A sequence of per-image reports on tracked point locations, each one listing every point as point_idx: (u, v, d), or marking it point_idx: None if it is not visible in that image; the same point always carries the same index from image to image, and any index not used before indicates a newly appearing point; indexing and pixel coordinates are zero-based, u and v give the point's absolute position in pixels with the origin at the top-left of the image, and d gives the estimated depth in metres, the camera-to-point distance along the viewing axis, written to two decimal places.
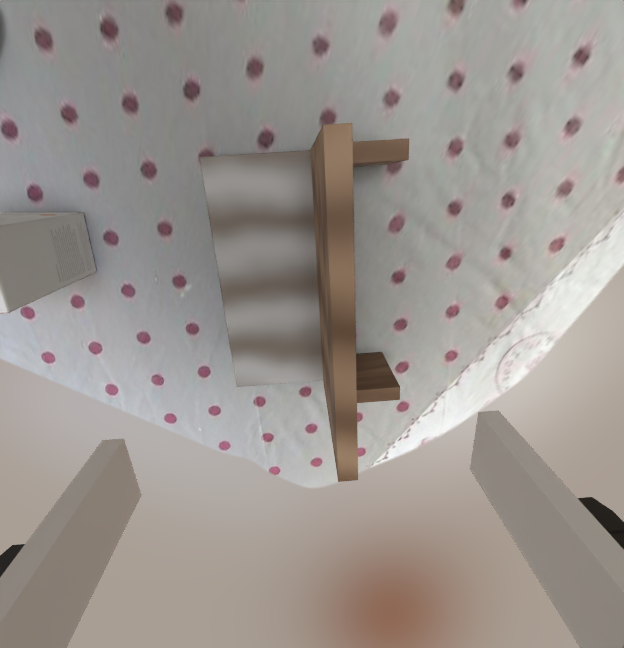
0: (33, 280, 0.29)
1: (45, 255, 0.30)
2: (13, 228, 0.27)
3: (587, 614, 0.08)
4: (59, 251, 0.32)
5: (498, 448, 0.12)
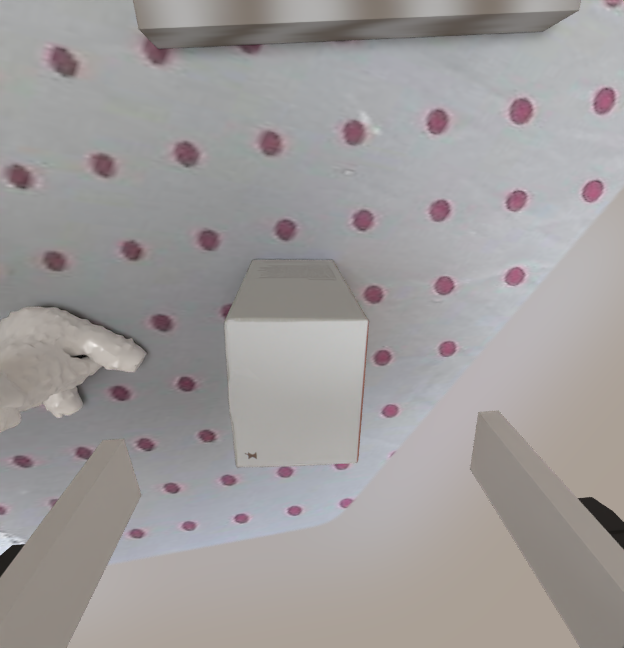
0: (324, 295, 0.18)
1: (291, 284, 0.20)
2: (240, 299, 0.17)
3: (587, 614, 0.08)
4: (291, 276, 0.22)
5: (498, 448, 0.12)
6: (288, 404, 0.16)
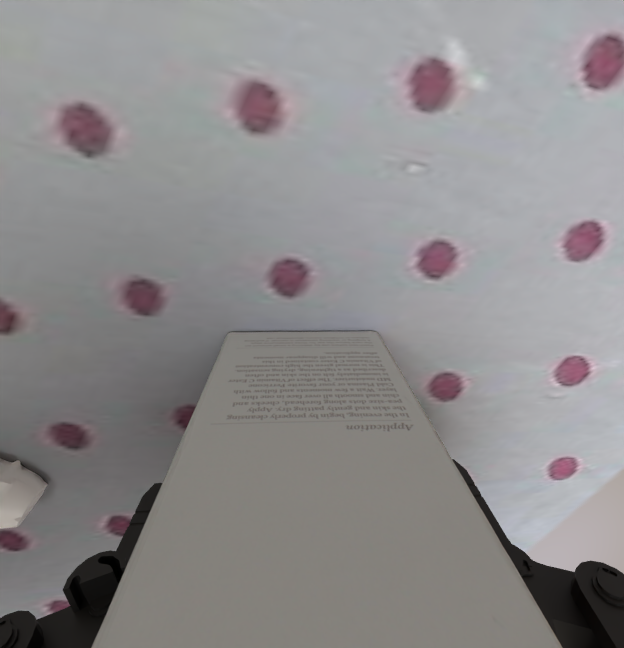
0: (414, 558, 0.06)
1: (306, 458, 0.08)
2: (130, 602, 0.05)
3: None
4: (303, 408, 0.09)
5: None
6: None
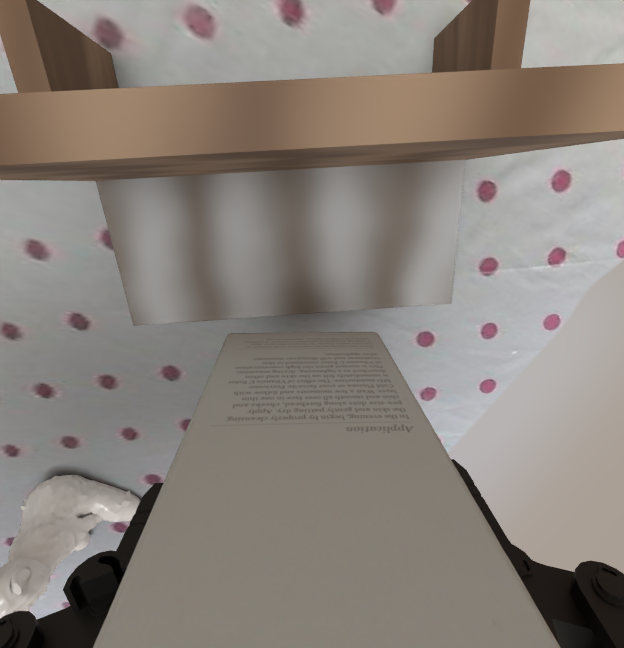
0: (414, 561, 0.06)
1: (306, 460, 0.08)
2: (130, 605, 0.05)
3: None
4: (304, 409, 0.09)
5: None
6: None
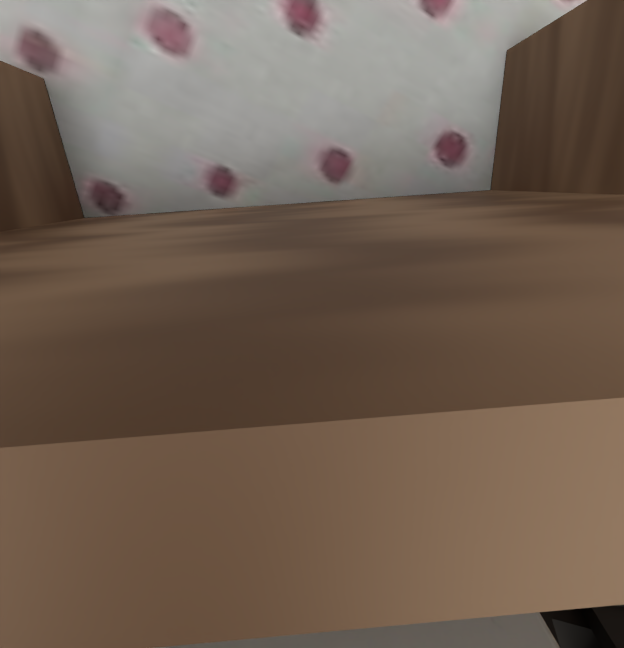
0: None
1: None
2: None
3: None
4: None
5: None
6: None
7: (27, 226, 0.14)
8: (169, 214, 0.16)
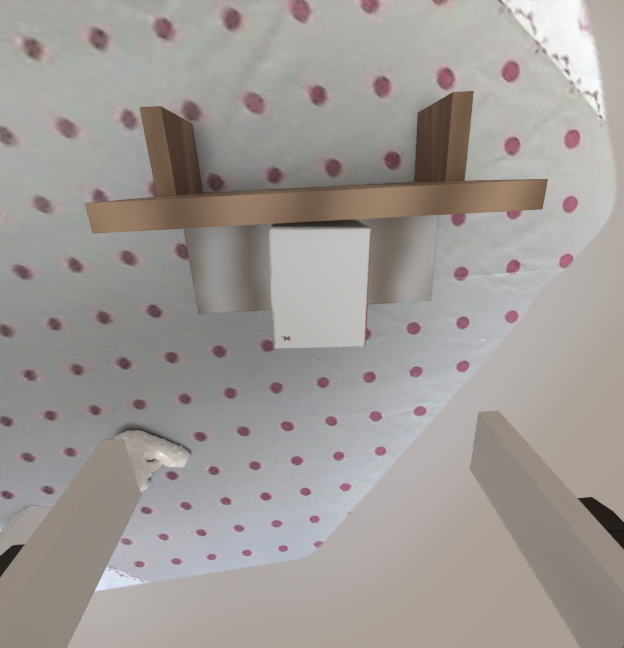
0: (338, 221, 0.24)
1: None
2: (276, 223, 0.24)
3: (587, 614, 0.08)
4: None
5: (499, 448, 0.12)
6: (314, 295, 0.22)
7: (190, 193, 0.31)
8: None
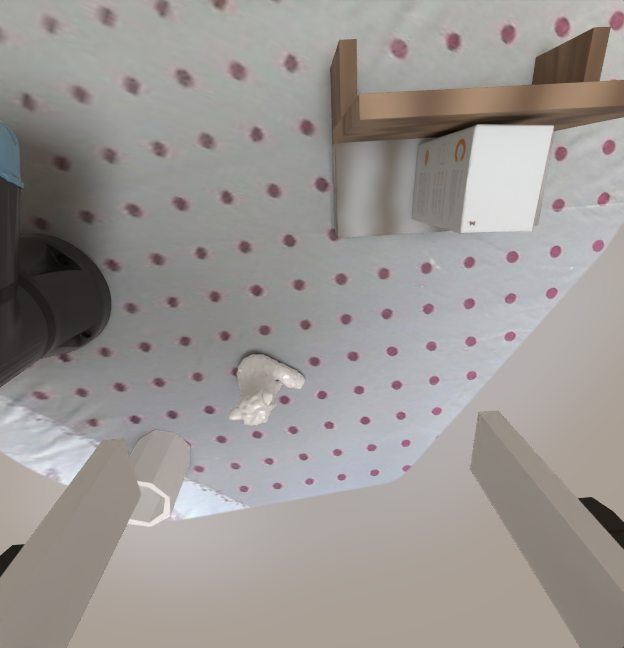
0: None
1: None
2: (462, 130, 0.29)
3: (587, 614, 0.08)
4: None
5: (499, 448, 0.12)
6: (500, 184, 0.28)
7: None
8: None
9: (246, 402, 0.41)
